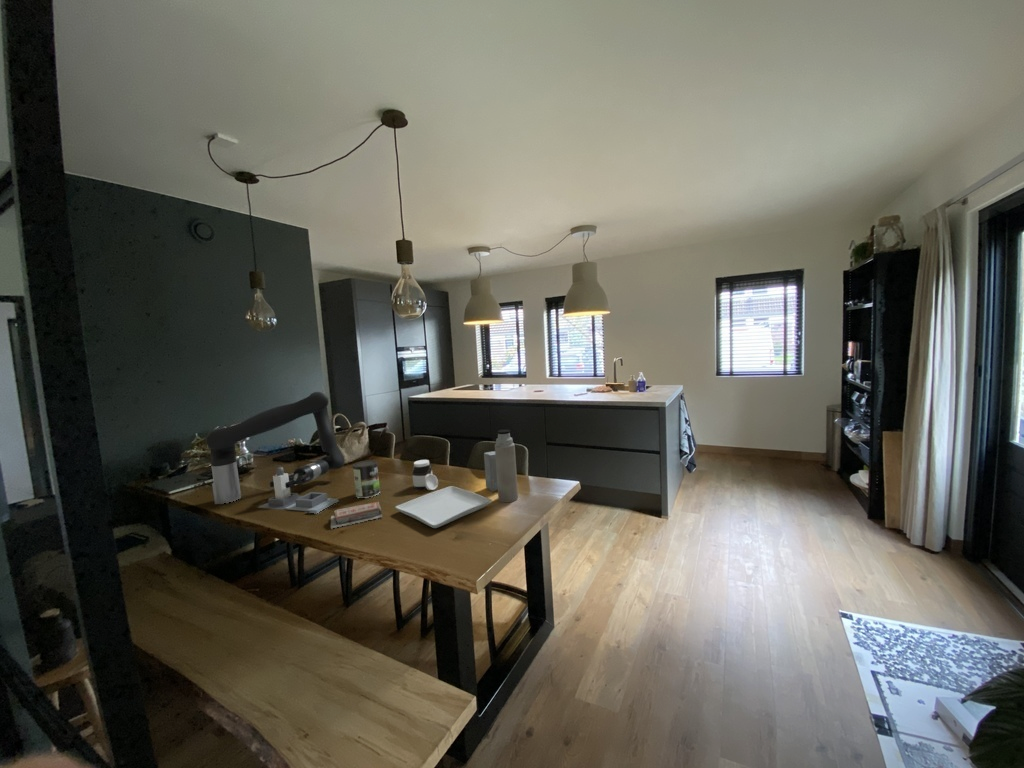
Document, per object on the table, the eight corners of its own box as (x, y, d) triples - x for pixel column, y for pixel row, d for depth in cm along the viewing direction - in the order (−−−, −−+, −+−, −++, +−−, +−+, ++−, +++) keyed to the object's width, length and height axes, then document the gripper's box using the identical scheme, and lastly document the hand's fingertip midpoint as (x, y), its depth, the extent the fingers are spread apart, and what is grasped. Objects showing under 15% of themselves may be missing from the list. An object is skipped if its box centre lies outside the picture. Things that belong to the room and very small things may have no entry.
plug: (276, 503, 172) (271, 469, 171) (284, 499, 176) (279, 466, 175) (283, 503, 171) (279, 469, 170) (291, 500, 175) (287, 466, 173)
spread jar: (419, 483, 190) (417, 458, 188) (442, 482, 188) (440, 458, 187) (409, 492, 178) (407, 466, 177) (434, 492, 176) (432, 466, 175)
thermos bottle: (505, 493, 169) (500, 427, 166) (521, 496, 165) (517, 428, 162) (494, 500, 162) (489, 432, 160) (511, 503, 158) (506, 433, 155)
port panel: (285, 511, 165) (284, 500, 165) (308, 500, 177) (307, 490, 176) (317, 514, 160) (315, 503, 160) (338, 502, 172) (337, 491, 171)
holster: (257, 509, 169) (256, 501, 169) (285, 497, 182) (284, 489, 182) (283, 511, 165) (282, 503, 165) (309, 498, 178) (308, 491, 178)
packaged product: (379, 498, 161) (381, 507, 152) (380, 510, 161) (382, 519, 152) (329, 508, 154) (329, 517, 145) (331, 520, 155) (330, 530, 145)
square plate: (451, 493, 175) (451, 484, 174) (494, 508, 155) (493, 499, 155) (394, 514, 156) (393, 504, 156) (434, 535, 136) (433, 524, 136)
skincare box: (491, 492, 172) (489, 455, 170) (485, 487, 178) (482, 452, 176) (509, 487, 175) (507, 452, 174) (502, 483, 182) (499, 448, 180)
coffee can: (384, 490, 183) (381, 459, 182) (373, 498, 173) (369, 466, 172) (363, 490, 185) (360, 460, 183) (351, 498, 175) (347, 467, 173)
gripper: (294, 464, 188) (264, 476, 173) (319, 465, 184) (290, 477, 169) (296, 480, 189) (266, 492, 174) (321, 481, 185) (292, 494, 169)
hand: (278, 485), depth 171 cm, fingers open, 8 cm apart
